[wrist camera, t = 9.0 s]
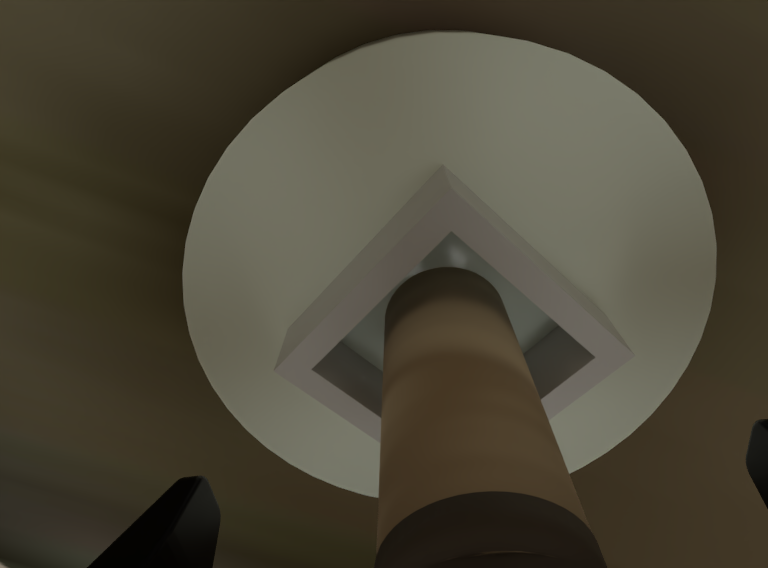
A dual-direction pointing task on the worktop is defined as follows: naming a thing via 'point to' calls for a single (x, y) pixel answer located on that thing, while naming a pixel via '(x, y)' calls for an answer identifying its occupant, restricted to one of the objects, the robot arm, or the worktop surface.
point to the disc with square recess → (447, 241)
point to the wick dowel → (468, 439)
